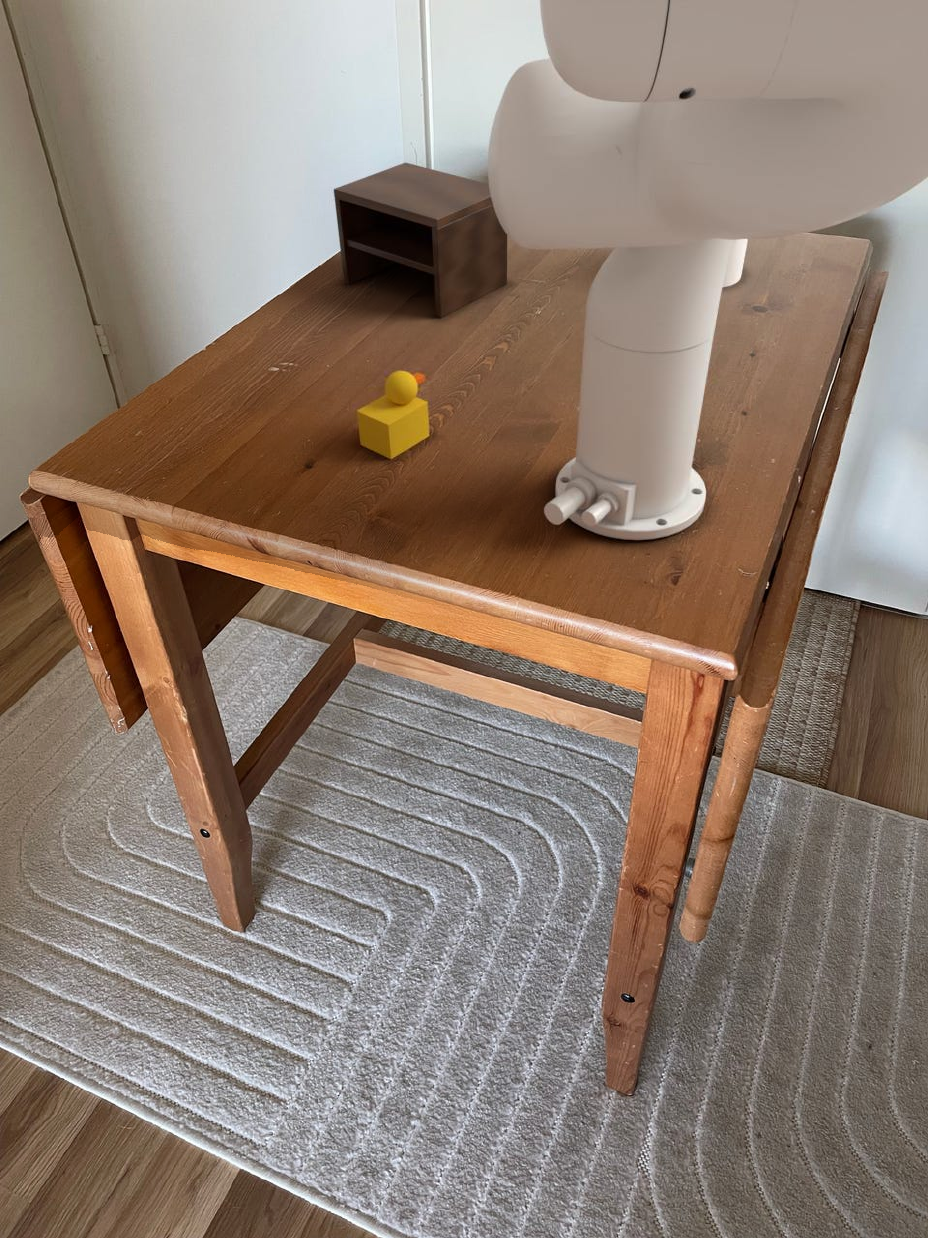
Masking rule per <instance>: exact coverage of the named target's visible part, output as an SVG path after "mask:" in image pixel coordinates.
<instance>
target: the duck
mask: <svg viewBox="0 0 928 1238" xmlns="http://www.w3.org/2000/svg"><path fill="white" fill-rule="evenodd" d="M425 381H426V375H425V374H423V373H420V372H417V371H416V372H415V373H414V374H411V372H408V371H406V370H395V371H393V372H392V373H390V374H389V375H388V377H387V378H386V380H385V381H384V392H385V394H384V395H383V396H381V397H378V398H377V399H375V400H373V401H371V402H369V403H368V404H366V405H364V406H363V407H360V408H359V409H357V410H356V416H357V424H358V425H357V426H358V434H359V435H358V436H359V442H360V446H362V447H364V448H367V449H368V450H370V451H372V452H375V453H377V454H378V455H381V456H383V457H385V458H387V459H390V460H393V459H394V458H397V457H398V456H399V455H401V454H402V453H405V452H406V451H408V450H409V449H411V448H412V447H413V446H415V445H417V444H419V443H421V442H422V441H424V440H426V439H427V438H428V437H430V422H429V404H428V403H429V402H428V401H427V400H424V399H422V398H420V397H417V395H418V394H417V393H418V390H419V385H420V384H422V383H424V382H425Z"/></svg>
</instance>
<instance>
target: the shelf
mask: <svg viewBox="0 0 928 1238" xmlns="http://www.w3.org/2000/svg"><path fill="white" fill-rule="evenodd" d="M333 196H334V205H335V213H336V223H337V231H338V240H339V248H340V249H339V250H340V258H341V266H342V267H341V268H342V275H343V282H344V284H347V285H350V284H352V283H355V282H357V281H359V280H361V279H364V278H366V277H368V276H371V275H372V274H373V275H374V273H377V272H379V271H381V270H384V269H385V268H386V269H387V268H388V267H390V266H393V265H395V264H396V263H397V264H401V265H404V266H406V267H410V268H413V269H416V270H418V271H420V272H421V271H422V272H425V273H428V274H431V275H433V278H434V279H433V280H434V282H433V283H434V300H435V301H434V302H435V317H437V318H439V319H443V318H444V317H446V316H448V315H450V314H452V313H453V312H456V311H458V310H461V309H462V308H463V307H465V306H467V305H469V304H471V303H473V302H475V301H477V300H479V299H480V298H483V297H484V296H487V295H488V294H490V293H492V292H494V291H496V290H498V289H500V288H502V287H504V286H506V285H507V284H508V235H507V234H506V233H505V231H504V229H503V228H502V226H501V224H500V222H499V220H498V218H497V215H496V213H495V210H494V207H493V203H492V199H491V194H490V188H489V183H486V182H481V181H478V180H475V179H471V178H467V177H463V176H459V175H455V174H452V173H448V172H444V171H440V170H436V169H432V168H428V167H425V166H421V165H417V164H413V163H409V162H403V163H401V164H398V165H395V166H391V167H390V168H386V169H383V170H381V171H379V172H376V173H374V174H370V175H368V176H365V177H363V178H359V179H357V180H354V181H351V182H349V183H346V184H344V185H341V186H339V187H338V186H337V187H335V188H333Z"/></svg>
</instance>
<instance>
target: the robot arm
mask: <svg viewBox="0 0 928 1238" xmlns="http://www.w3.org/2000/svg"><path fill="white" fill-rule="evenodd" d="M539 7H540V18H541V26H542V32H543V38H544V42H545V46H546V50H547V54H548V56H549V58H543V59H538V60H533V61H529V62H526V63H524V64H523V65H521V66H519V67H518V68H517V69H516V70H515V72H514V73H513V74H512V76H511V77H510V78H509V80H508V81H507V84H506V86H505V88H504V91H503V93H502V96H501V98H500V101H499V104H498V106H497V109H496V112H495V115H494V119H493V122H492V126H491V130H490V137H489V143H488V149H487V150H488V151H487V179H488V184H489V188H490V194H491V199H492V203H493V207H494V210H495V213H496V215H497V218H498V220H499V222H500V224H501V226H502V228H503V229H504V231H505V233H506V234H507V237H509V239H510V240H511V241H513V242H514V243H515V244H516V245H518V246H519V247H521V248H523V249H527V250H585V249H586V250H587V249H590V250H591V249H592V250H593V249H613V250H612V251H611V253H610V254H609V255H608V257H607V258H606V259H605V261H604V262H603V263H602V265H601V266H600V268H599V270H598V272H597V273H596V275H595V276H594V279H593V281H592V283H591V286H590V288H589V292H588V294H587V298H586V305H585V317H584V332H583V344H582V345H583V346H582V360H581V361H582V362H581V376H580V391H579V406H578V421H577V435H576V451H575V457H573V458H572V459H571V460H569V461H568V462H566V463H565V464H564V466H563V467H561V469H560V470H559V472H558V474H557V477H556V481H555V489H554V491H555V492H554V493H555V497H554V498H552V499H551V500H550V501H549V502H547V503H546V504H545V506H544V507H543V513H544V516H545V517H546V519H547V520H548V522H549V523H551V524H552V525H554V526H555V525H556V526H560V525H561V524H562V523H564V522H565V521H566V520H568V519H569V520H570V521H571V522H573V523H575V525H578V526H580V527H581V528H583V529H585V530H587V531H589V532H593V533H595V534H596V535H600V536H604V537H607V538H613V539H620V540H626V541H627V540H628V541H629V540H630V541H644V540H655V539H659V538H664V537H669V536H671V535H674V534H677V533H680V532H682V531H684V530H685V529H687V528H689V527H690V526H692V525H693V524H694V523H695V522H697V520H698V519H699V517H700V516H701V515H702V514H703V511H704V507H705V503H706V499H707V497H706V496H707V489H706V485H705V482H704V480H703V479H702V477H701V475H700V474H699V473H698V472H697V471H696V470H695V469H694V468H693V462H694V461H693V460H694V455H695V449H696V443H697V437H698V431H699V426H700V421H701V420H700V419H701V414H702V409H703V402H704V395H705V390H706V384H707V380H708V379H707V378H708V372H709V366H710V360H711V355H712V348H713V342H714V336H715V330H716V325H717V320H718V313H719V308H720V301H721V297H722V292H723V288H724V287H723V282H724V277H725V273H726V268H727V264H728V260H729V255H730V252H731V248H732V245H733V241H734V240H737V239H748V240H763V239H764V240H766V239H767V240H768V239H776V238H783V237H789V236H796V235H801V234H807V233H810V232H811V233H812V232H815V231H819V230H823V229H827V228H831V227H834V226H837V225H840V224H842V223H845V222H848V221H851V220H854V219H856V218H859V217H862V216H864V215H866V214H868V213H871V212H873V211H875V210H876V209H878V208H881V207H883V206H885V205H887V204H889V203H890V202H891V203H892V201H894V200H896V199H897V198H899V197H901V196H903V195H904V194H906V193H907V192H909V191H911V190H912V189H914V188H915V187H917V186H918V185H919V184H921V183H922V182H923V181H924V180H926V179H927V178H928V0H539ZM722 287H723V288H722Z"/></svg>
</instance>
